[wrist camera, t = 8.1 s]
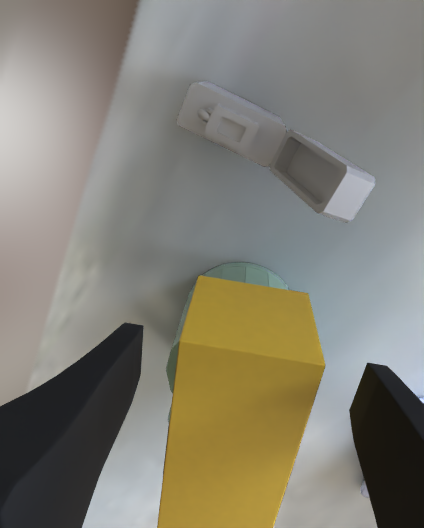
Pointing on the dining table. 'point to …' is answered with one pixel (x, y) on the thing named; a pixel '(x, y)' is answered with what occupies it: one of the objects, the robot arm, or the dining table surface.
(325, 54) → the dining table surface
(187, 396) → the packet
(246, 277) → the mug
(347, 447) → the dining table surface
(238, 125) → the lighter
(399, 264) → the dining table surface
